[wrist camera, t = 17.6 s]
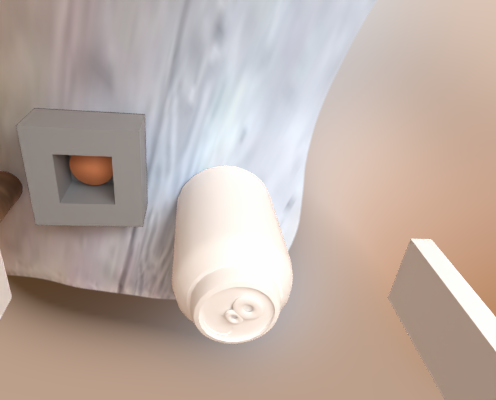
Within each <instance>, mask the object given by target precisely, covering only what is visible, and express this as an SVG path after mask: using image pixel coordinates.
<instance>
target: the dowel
mask: <svg viewBox="0 0 496 400" xmlns="http://www.w3.org/2000/svg"><path fill="white" fill-rule="evenodd" d="M21 193H22V184H21V182H20V181H19V179H18V178H17V177H15V176H14V175H13V174H11V173H8V172H4V171H0V222H1V221H2V219H3V218H4V216H5V215H6V214H7V212H8V211H9V210H10V208H11V207H12V206H13V204H14V203H15V202H16V200H17V199H18V198H19V196H20V195H21Z"/></svg>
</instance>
